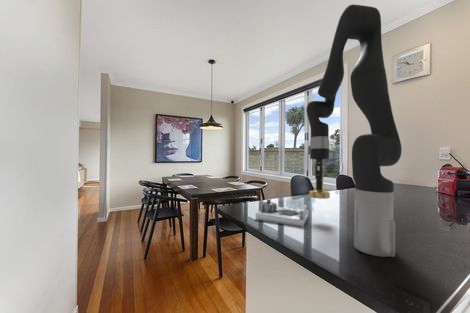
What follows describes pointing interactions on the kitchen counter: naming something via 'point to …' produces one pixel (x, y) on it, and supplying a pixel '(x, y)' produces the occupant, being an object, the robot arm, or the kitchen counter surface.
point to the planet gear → (319, 193)
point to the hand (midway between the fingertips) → (319, 189)
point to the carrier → (282, 214)
